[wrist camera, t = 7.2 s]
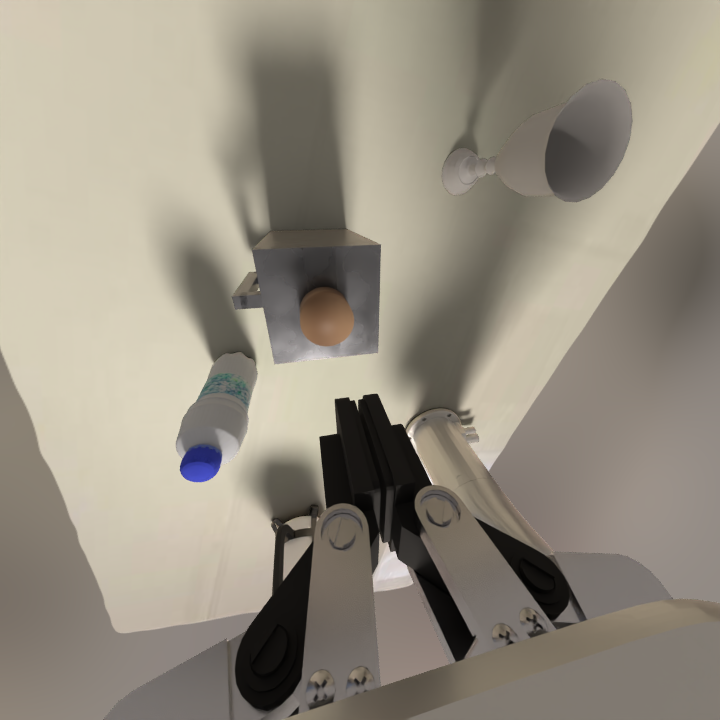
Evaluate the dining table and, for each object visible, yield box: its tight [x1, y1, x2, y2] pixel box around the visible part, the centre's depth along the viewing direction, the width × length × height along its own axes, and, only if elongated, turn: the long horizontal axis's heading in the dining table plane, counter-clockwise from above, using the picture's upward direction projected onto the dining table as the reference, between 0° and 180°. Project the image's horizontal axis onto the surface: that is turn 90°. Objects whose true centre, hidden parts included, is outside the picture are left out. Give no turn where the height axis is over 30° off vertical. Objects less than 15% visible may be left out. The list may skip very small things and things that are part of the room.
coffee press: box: [271, 505, 319, 595], centre depth 52 cm, size 17×16×30 cm
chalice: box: [442, 79, 632, 202], centre depth 27 cm, size 7×7×18 cm
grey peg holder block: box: [232, 229, 381, 364], centre depth 30 cm, size 13×10×17 cm
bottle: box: [176, 352, 258, 482], centre depth 33 cm, size 7×7×20 cm
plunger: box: [300, 287, 354, 346], centre depth 28 cm, size 7×7×19 cm
